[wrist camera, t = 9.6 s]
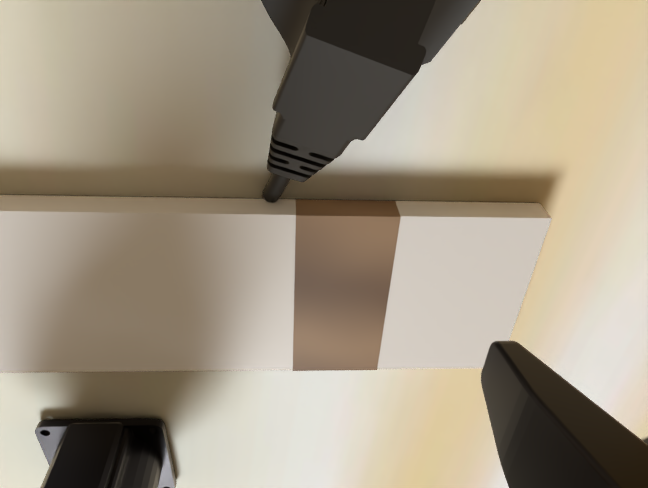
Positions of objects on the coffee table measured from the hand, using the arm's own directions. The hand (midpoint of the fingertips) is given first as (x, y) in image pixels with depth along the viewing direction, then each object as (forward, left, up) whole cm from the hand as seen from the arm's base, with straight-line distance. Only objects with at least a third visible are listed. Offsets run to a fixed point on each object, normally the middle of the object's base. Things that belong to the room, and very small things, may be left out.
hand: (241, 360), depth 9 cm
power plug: (+3, -2, -12) cm, 12 cm away
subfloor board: (-7, +3, -11) cm, 14 cm away
